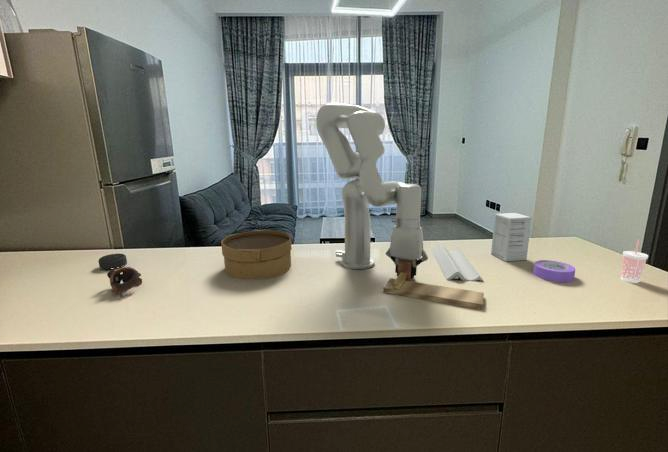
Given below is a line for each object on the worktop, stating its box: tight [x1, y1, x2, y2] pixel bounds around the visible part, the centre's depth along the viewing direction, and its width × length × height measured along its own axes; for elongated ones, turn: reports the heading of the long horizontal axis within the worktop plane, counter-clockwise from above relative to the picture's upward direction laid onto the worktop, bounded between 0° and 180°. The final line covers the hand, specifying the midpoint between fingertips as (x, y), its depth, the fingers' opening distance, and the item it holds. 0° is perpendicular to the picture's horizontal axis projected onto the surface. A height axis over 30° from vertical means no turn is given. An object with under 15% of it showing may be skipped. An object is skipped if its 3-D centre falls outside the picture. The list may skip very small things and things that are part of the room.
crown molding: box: [430, 243, 484, 282], centre depth 126 cm, size 31×12×4 cm, turn 173°
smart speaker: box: [97, 253, 128, 270], centre depth 128 cm, size 9×9×4 cm
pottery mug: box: [106, 266, 143, 295], centre depth 107 cm, size 12×10×8 cm
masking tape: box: [532, 259, 576, 283], centre depth 113 cm, size 12×12×4 cm
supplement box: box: [490, 212, 532, 262], centre depth 130 cm, size 10×9×17 cm
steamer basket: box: [220, 230, 293, 281], centre depth 124 cm, size 25×25×11 cm
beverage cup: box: [620, 238, 649, 284], centre depth 108 cm, size 6×6×14 cm
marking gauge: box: [393, 258, 413, 289], centre depth 107 cm, size 4×16×7 cm, turn 155°
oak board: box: [382, 277, 485, 310], centre depth 101 cm, size 28×8×2 cm, turn 65°
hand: (405, 275), depth 112 cm, fingers closed on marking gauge, 4 cm apart
